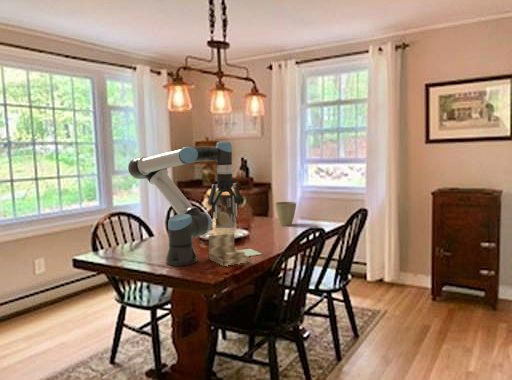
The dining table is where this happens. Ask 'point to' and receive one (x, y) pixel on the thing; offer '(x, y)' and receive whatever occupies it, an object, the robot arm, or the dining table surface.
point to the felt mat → (250, 252)
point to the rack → (223, 249)
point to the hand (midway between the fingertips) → (225, 217)
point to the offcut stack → (234, 255)
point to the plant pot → (286, 212)
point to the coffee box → (225, 212)
